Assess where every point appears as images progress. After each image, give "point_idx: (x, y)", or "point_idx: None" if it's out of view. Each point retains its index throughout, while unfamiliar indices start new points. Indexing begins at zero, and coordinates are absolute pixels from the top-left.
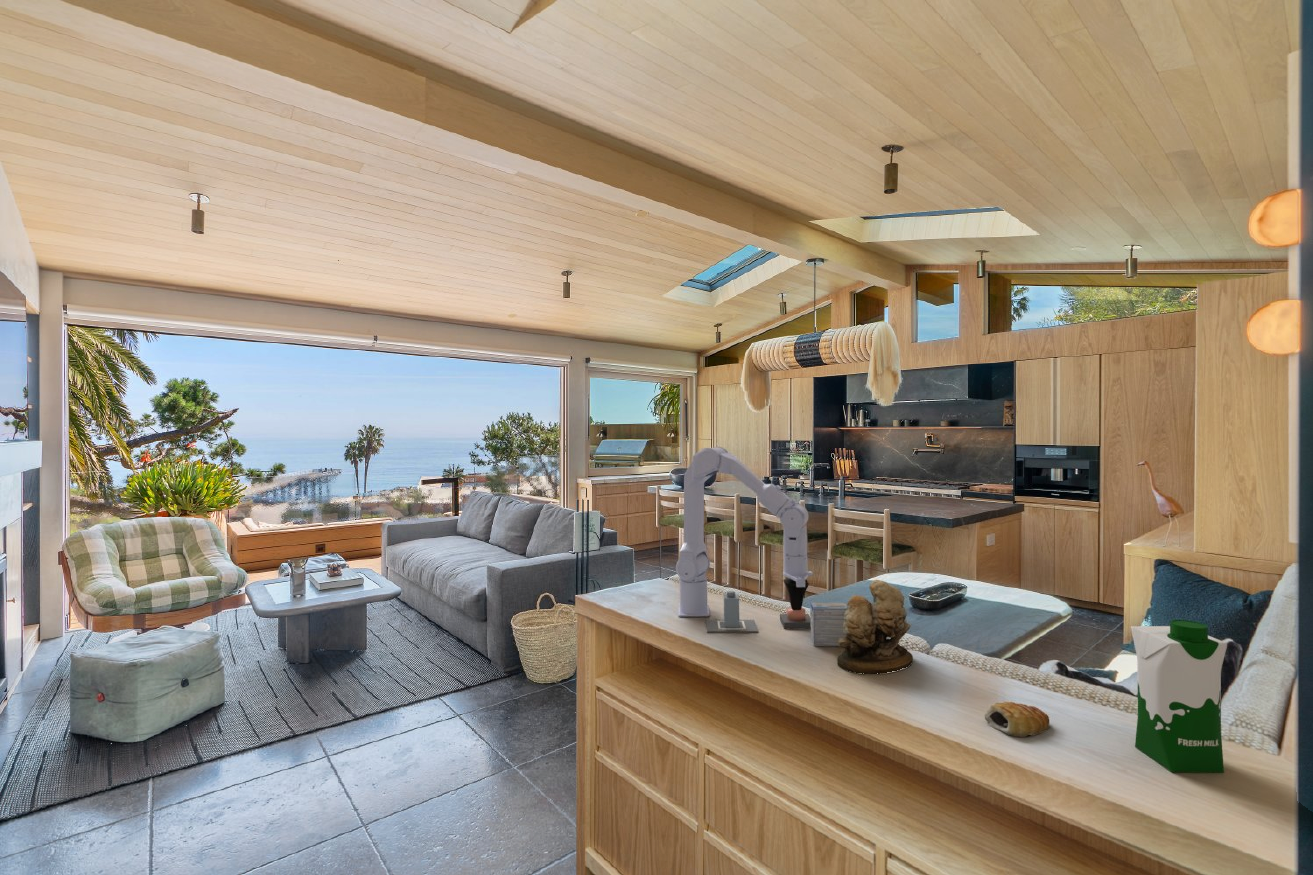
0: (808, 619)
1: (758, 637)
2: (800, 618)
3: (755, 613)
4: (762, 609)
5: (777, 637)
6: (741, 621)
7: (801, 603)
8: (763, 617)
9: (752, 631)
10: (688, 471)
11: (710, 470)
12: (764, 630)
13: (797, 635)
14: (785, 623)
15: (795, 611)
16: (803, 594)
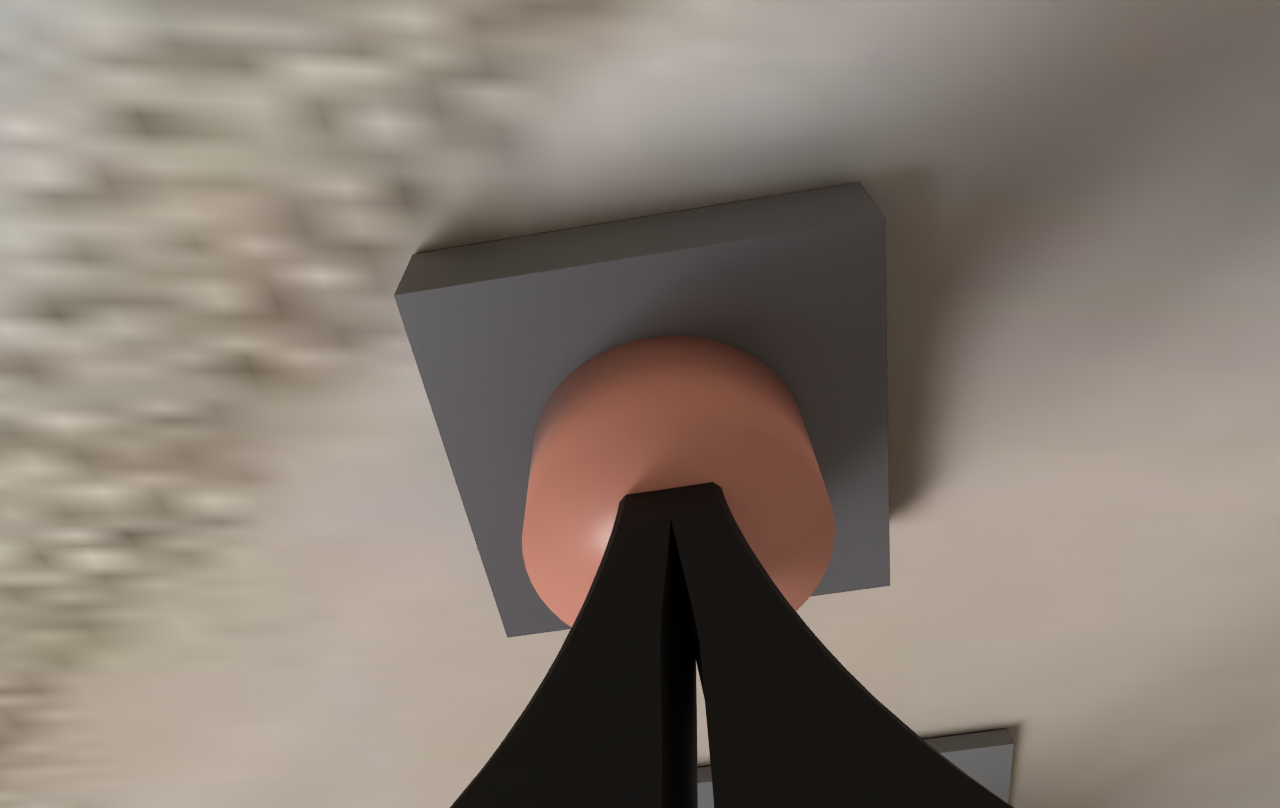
0: (718, 292)
1: (1151, 717)
2: (803, 422)
3: (322, 784)
4: (129, 743)
5: (1182, 578)
6: None
7: (753, 555)
8: (452, 719)
9: (1009, 776)
10: None
11: None
12: (928, 688)
13: (1143, 390)
14: (885, 562)
15: (817, 553)
16: (854, 684)
